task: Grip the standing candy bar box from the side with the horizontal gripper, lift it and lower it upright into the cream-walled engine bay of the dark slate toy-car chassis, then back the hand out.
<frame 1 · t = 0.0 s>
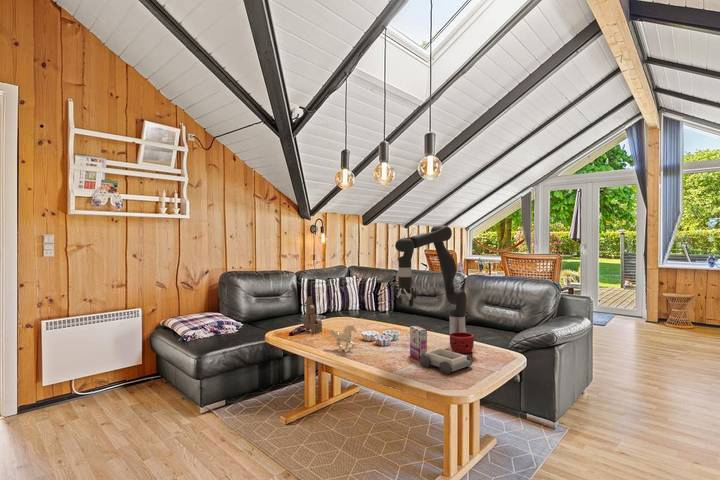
hand: (405, 305, 208), 29 cm above the table, tool pointing down, fingers open, 8 cm apart
candy bar box: (418, 358, 211), on the table
wooden toy: (312, 331, 271), on the table
unicorn: (342, 350, 226), on the table
plant pot: (461, 356, 213), on the table
toy car chassis: (445, 366, 196), on the table
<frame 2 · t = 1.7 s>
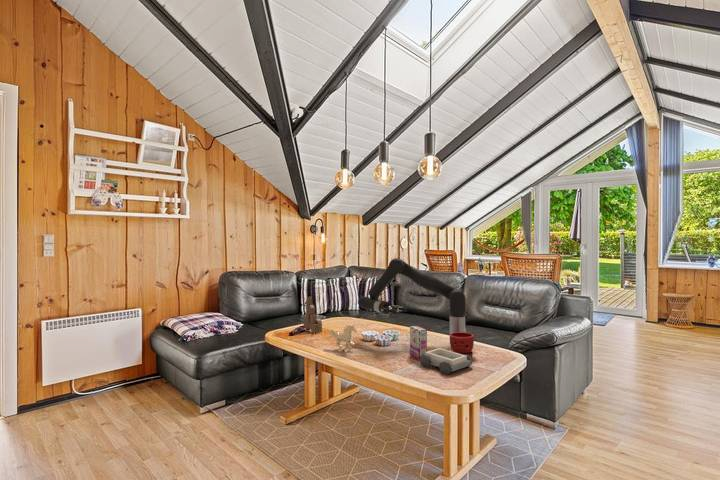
hand: (401, 311, 221), 24 cm above the table, tool horizontal, fingers open, 8 cm apart
nothing on the table moved.
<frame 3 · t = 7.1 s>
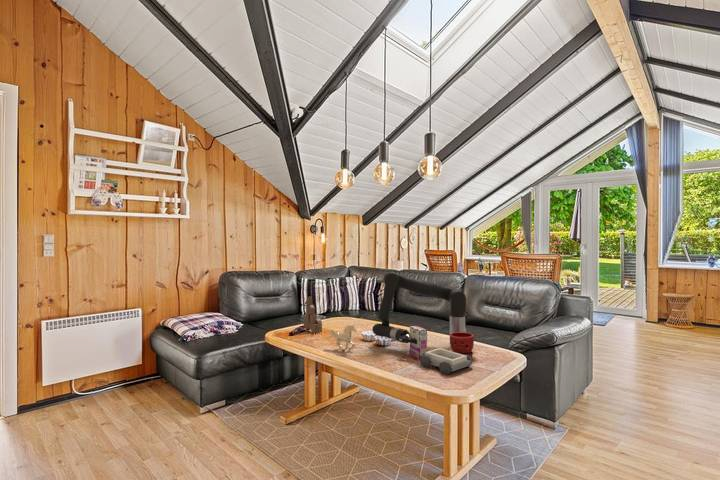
hand: (420, 341, 209), 10 cm above the table, tool horizontal, fingers closed on candy bar box, 6 cm apart
candy bar box: (418, 357, 211), on the table, touching gripper
everything else where it was.
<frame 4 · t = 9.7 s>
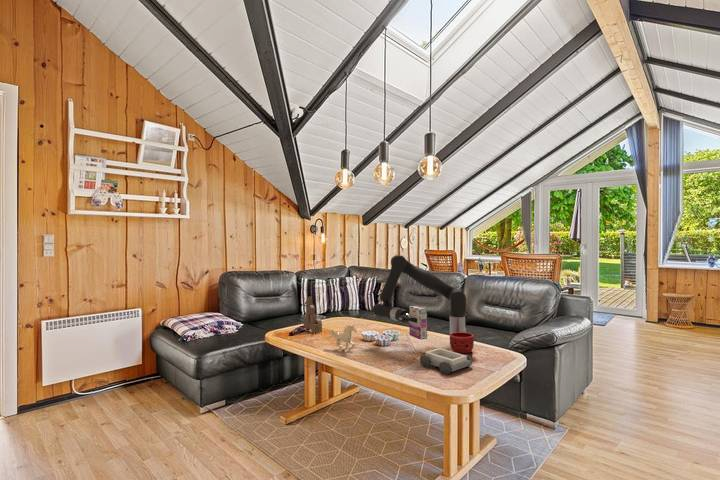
hand: (420, 319, 209), 21 cm above the table, tool horizontal, fingers closed on candy bar box, 6 cm apart
candy bar box: (418, 337, 211), point 11 cm above the table, touching gripper
everything else where it was.
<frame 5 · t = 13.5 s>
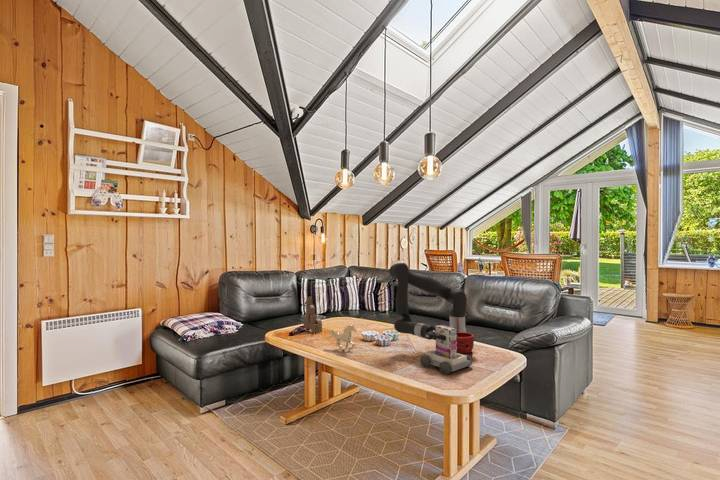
hand: (449, 337, 193), 16 cm above the table, tool horizontal, fingers closed on candy bar box, 5 cm apart
candy bar box: (446, 359, 195), point 4 cm above the table, touching gripper, toy car chassis
everything else where it was.
when the fingers open (16 cm above the table, at t = 13.5 s): candy bar box stays where it is, resting on toy car chassis.
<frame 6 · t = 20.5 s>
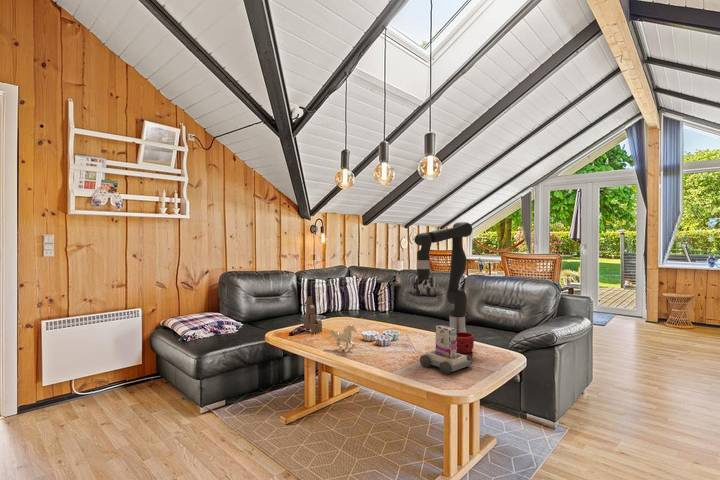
hand: (423, 295, 223), 32 cm above the table, tool pointing down, fingers open, 8 cm apart
candy bar box: (446, 359, 195), point 4 cm above the table, touching toy car chassis
everything else where it was.
at the end: candy bar box 0.4 cm off-centre on the toy car chassis, point 3.8 cm above the toy car chassis's base; candy bar box tilted 0°; the gripper is holding nothing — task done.
